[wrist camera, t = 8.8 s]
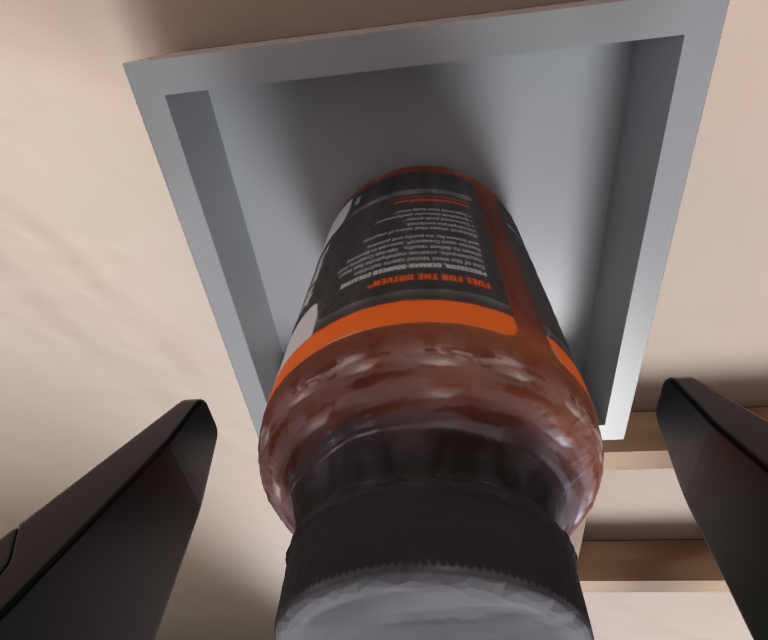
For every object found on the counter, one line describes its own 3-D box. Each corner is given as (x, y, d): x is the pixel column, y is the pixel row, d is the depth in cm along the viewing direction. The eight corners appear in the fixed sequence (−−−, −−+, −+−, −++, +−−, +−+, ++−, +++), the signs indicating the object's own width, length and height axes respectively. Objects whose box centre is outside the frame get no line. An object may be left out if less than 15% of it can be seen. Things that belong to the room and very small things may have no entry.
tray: (664, -10, 12) (732, -13, 9) (595, 379, 18) (623, 439, 16) (179, 51, 13) (122, 64, 10) (282, 394, 20) (263, 451, 17)
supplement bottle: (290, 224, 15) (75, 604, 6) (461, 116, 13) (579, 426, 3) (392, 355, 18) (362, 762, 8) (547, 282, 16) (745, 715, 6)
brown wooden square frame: (825, 404, 18) (866, 444, 17) (745, 550, 24) (770, 591, 22) (558, 414, 19) (572, 453, 18) (540, 552, 25) (550, 592, 23)
